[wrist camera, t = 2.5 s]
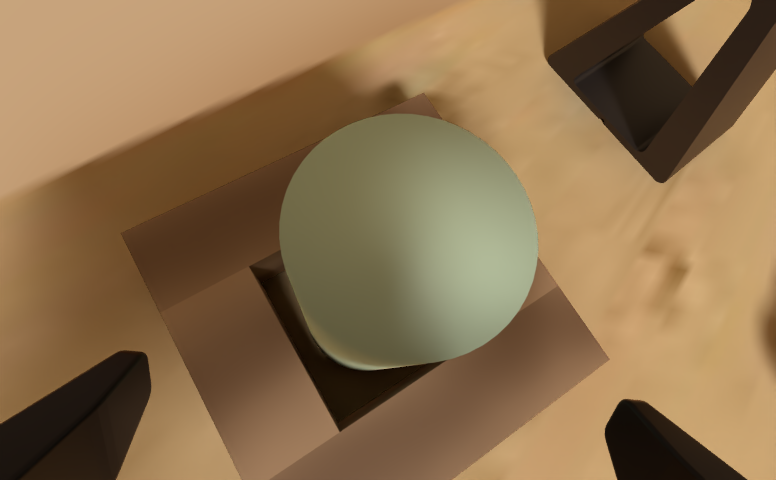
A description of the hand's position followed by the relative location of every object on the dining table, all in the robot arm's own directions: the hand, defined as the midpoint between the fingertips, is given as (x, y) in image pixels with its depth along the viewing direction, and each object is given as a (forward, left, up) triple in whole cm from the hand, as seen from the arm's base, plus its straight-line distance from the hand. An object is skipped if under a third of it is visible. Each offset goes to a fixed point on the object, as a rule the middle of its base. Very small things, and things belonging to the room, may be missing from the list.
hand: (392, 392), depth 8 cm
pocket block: (+1, -3, -10) cm, 11 cm away
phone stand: (-5, -21, -10) cm, 24 cm away
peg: (+1, -3, -10) cm, 11 cm away
